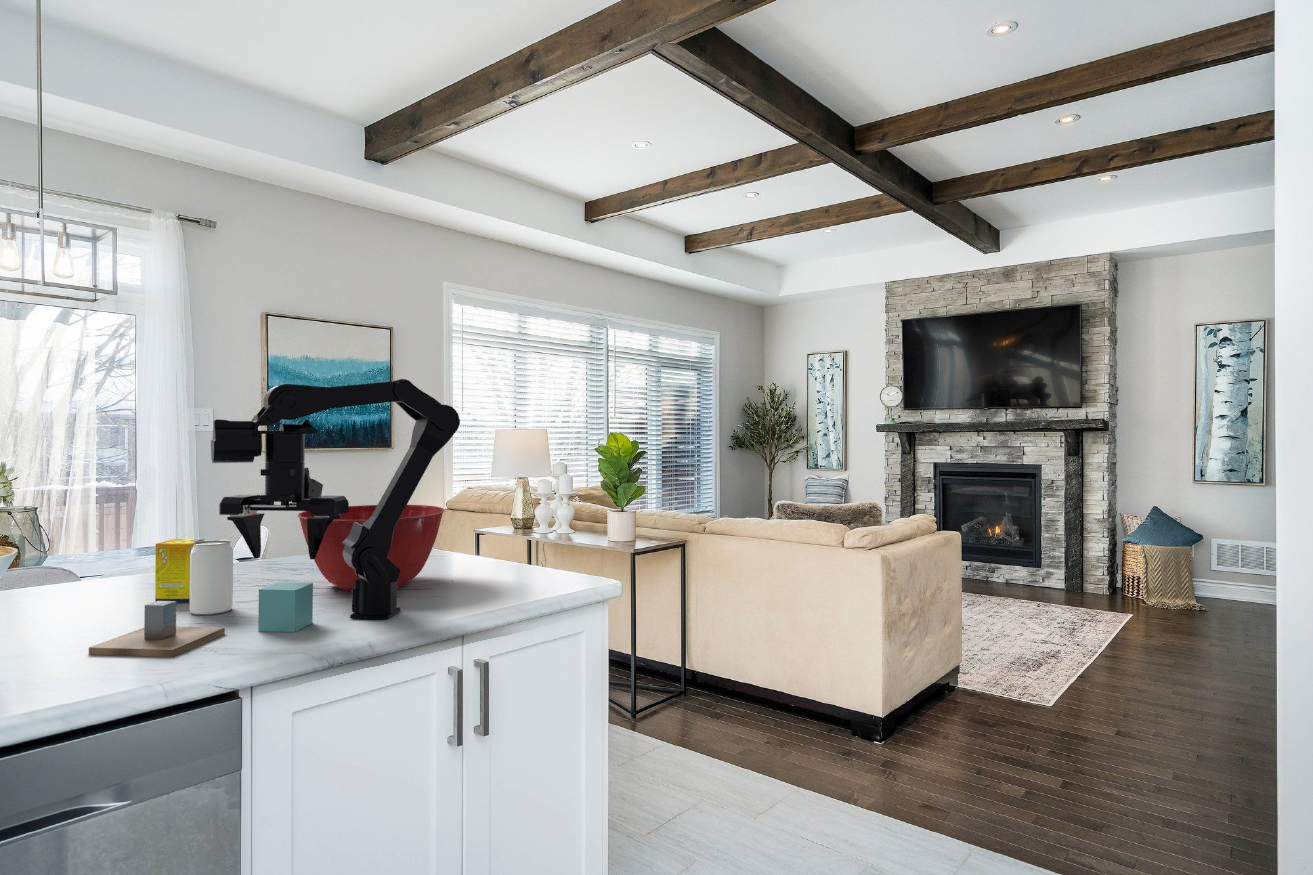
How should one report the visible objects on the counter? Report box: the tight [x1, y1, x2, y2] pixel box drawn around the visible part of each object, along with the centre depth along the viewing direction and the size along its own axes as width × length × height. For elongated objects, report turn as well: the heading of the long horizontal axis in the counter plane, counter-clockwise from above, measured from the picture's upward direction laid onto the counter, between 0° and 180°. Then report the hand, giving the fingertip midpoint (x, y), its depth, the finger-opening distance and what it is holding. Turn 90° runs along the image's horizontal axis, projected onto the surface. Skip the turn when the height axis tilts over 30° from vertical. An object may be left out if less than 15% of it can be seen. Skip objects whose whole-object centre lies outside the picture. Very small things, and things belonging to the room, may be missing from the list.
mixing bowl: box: [296, 504, 445, 592], centre depth 156 cm, size 28×28×16 cm
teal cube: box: [257, 581, 314, 633], centre depth 122 cm, size 6×6×7 cm
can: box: [189, 539, 234, 616], centre depth 132 cm, size 6×6×12 cm
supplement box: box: [154, 538, 206, 604], centre depth 140 cm, size 6×6×11 cm
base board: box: [88, 625, 226, 658], centre depth 111 cm, size 12×12×1 cm
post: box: [143, 601, 177, 640], centre depth 111 cm, size 3×3×5 cm
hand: (284, 558), depth 122 cm, fingers open, 9 cm apart
